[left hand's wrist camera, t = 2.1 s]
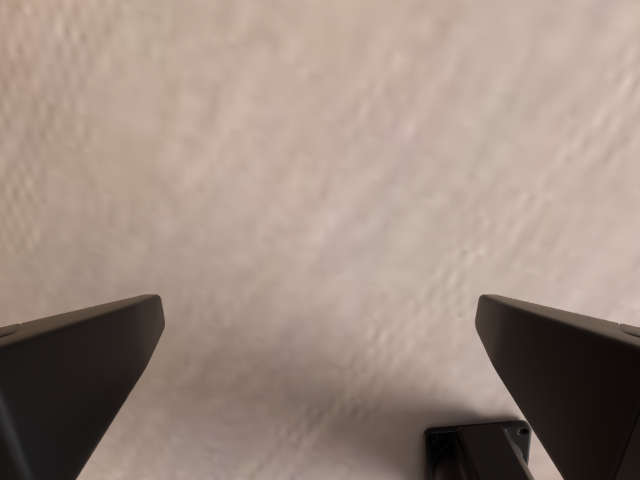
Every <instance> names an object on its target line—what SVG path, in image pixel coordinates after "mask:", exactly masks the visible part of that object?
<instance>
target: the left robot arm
mask: <svg viewBox="0 0 640 480" xmlns="http://www.w3.org/2000/svg"><path fill="white" fill-rule="evenodd" d="M164 326H165V319H164V313H163V307H162V301H161V298H160V296H159V295H141V296H137V297H132V298H128V299H124V300H119V301H115V302H111V303H107V304H102V305H98V306H94V307H89V308H85V309H81V310H77V311H72V312H68V313H64V314H59V315H55V316H51V317H46V318H42V319H38V320H34V321H29V322H25V323H22V324H21V325H20V324H14V325H10V326H5V327H1V328H0V480H76V479H77V477H78V476H79V474H80V472H81V471H82V469H83V468H84V466H85V464H86V463H87V461H88V460H89V458H90V456H91V455H92V453H93V452H94V450H95V448H96V447H97V445H98V444H99V442H100V440H101V439H102V437H103V436H104V434H105V432H106V431H107V429H108V428H109V426H110V424H111V423H112V421H113V420H114V418H115V416H116V415H117V413H118V412H119V410H120V409H121V407H122V405H123V404H124V402H125V401H126V399H127V397H128V396H129V394H130V393H131V391H132V389H133V388H134V386H135V385H136V383H137V381H138V380H139V378H140V377H141V375H142V373H143V372H144V370H145V368H146V367H147V365H148V363H149V361H150V358H151V356H152V354H153V352H154V350H155V348H156V345H157V343H158V341H159V339H160V337H161V334H162V332H163V330H164ZM475 326H476V330H477V332H478V334H479V337H480V339H481V341H482V343H483V345H484V348H485V350H486V352H487V354H488V356H489V358H490V361H491V363H492V365H493V367H494V368H495V370H496V372H497V373H498V375H499V377H500V378H501V380H502V381H503V383H504V385H505V386H506V388H507V389H508V391H509V393H510V394H511V396H512V397H513V399H514V400H515V402H516V404H517V405H518V407H519V408H520V410H521V412H522V413H523V415H524V416H525V418H526V420H527V421H528V423H529V424H530V426H531V428H532V429H533V431H534V432H535V434H536V436H537V437H538V439H539V440H540V442H541V444H542V445H543V447H544V448H545V450H546V452H547V453H548V455H549V456H550V458H551V460H552V461H553V463H554V464H555V466H556V468H557V469H558V471H559V472H560V474H561V476H562V477H563V479H564V480H640V328H639V327H635V326H630V325H626V324H620V325H619V324H618V323H615V322H611V321H607V320H602V319H598V318H594V317H589V316H585V315H581V314H576V313H572V312H568V311H564V310H559V309H555V308H551V307H546V306H542V305H538V304H533V303H529V302H525V301H521V300H516V299H512V298H508V297H503V296H499V295H481V296H480V298H479V301H478V307H477V313H476V318H475ZM528 423H527V422H526V421H523V420H519V421H507V422H496V423H484V424H472V425H460V426H448V427H437V428H429V429H427V430H426V431H425V432H424V473H425V480H534V478H533V476H532V474H531V472H530V470H529V468H528V459H529V450H530V441H531V432H532V431H531V428H530V426H529V424H528ZM432 436H433V437H432Z"/></svg>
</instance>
